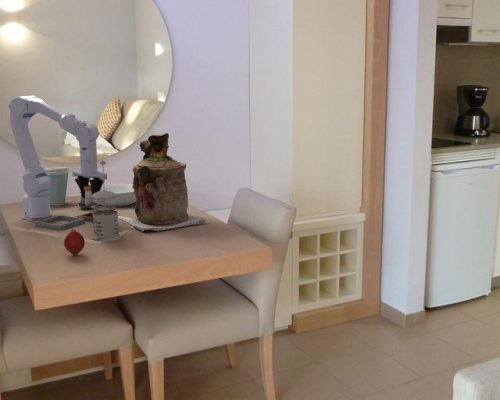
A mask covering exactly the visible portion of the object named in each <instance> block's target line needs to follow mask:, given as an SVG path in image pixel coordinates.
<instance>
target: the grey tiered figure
mask: <svg viewBox="0 0 500 400" xmlns="http://www.w3.org/2000/svg"><path fill="white" fill-rule="evenodd" d="M79 194H80V200H78V201H77V205H78V207H79V208H80V209H83V210H88V209H91V208H92V206H86V204H85V198H83V197H82V194H81V191H80V192H79Z"/></svg>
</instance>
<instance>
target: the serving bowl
mask: <svg viewBox="0 0 500 400" xmlns="http://www.w3.org/2000/svg"><path fill="white" fill-rule="evenodd" d="M132 187H133V183H131V184H130V183H128V184H126V183H116V184H115V183H114V184H104V185H102V187H101V190H100V191H103V190H104V189H105V190H106V191H111V192H113V193H115V194H117V197H116V198H113V199H105V205H104V202H103V206H106V205H108V206H115V207H116V208H123V207H126V206H128V205H132V204H133V203H136V197H135V194H134V189H133V188H132ZM97 201H98V206H102V202H99V199H97ZM100 201H102V200H100ZM103 201H104V200H103Z"/></svg>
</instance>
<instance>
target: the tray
mask: <svg viewBox="0 0 500 400" xmlns="http://www.w3.org/2000/svg"><path fill="white" fill-rule="evenodd" d="M58 221H65V222H66V223H62V224H56V223H54V222H58ZM85 223H86V221H85V218H78V217H75V216H71V215H64V214H59V215H58V214H57V215H54V216H49V217H46V218H42V219H40V220H37V221H34V227H39V228H44V229H50V230H57V231H62V230H66V229H68V228H69V229H70V228H72V227H76V226H79V225H83V224H85Z"/></svg>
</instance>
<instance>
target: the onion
mask: <svg viewBox="0 0 500 400" xmlns="http://www.w3.org/2000/svg"><path fill="white" fill-rule="evenodd" d="M85 241H86V240H85V238H84V236H83V235H82V234H81V233H80V232H78V231H77V230H76V229H75V228H72V229H70V232H68V233H67V235H66V236H65V238H64V240H63V246H64V248H65V250H66V251H67V252H68V253H70V254H72V256H78V254H79V253H81V252H82V251H83V250H84V248H85V245H86V242H85Z"/></svg>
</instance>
